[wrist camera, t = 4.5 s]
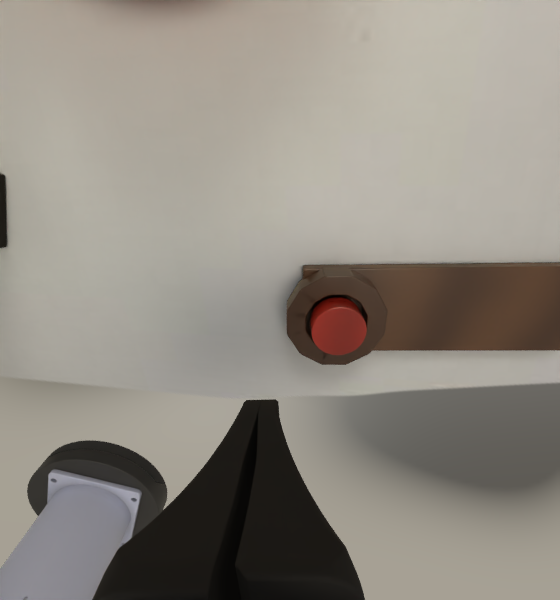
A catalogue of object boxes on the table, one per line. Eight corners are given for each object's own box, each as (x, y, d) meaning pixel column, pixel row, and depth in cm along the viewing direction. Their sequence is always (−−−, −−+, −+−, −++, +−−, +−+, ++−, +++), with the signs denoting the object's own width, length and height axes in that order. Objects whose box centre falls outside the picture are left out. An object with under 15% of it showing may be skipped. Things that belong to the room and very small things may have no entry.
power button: (309, 342, 20) (310, 355, 19) (310, 296, 19) (311, 307, 17) (359, 342, 20) (364, 355, 19) (363, 296, 19) (369, 306, 17)
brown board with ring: (287, 344, 23) (287, 364, 20) (286, 264, 20) (286, 276, 18) (556, 344, 22) (587, 365, 20) (587, 261, 20) (627, 273, 17)
